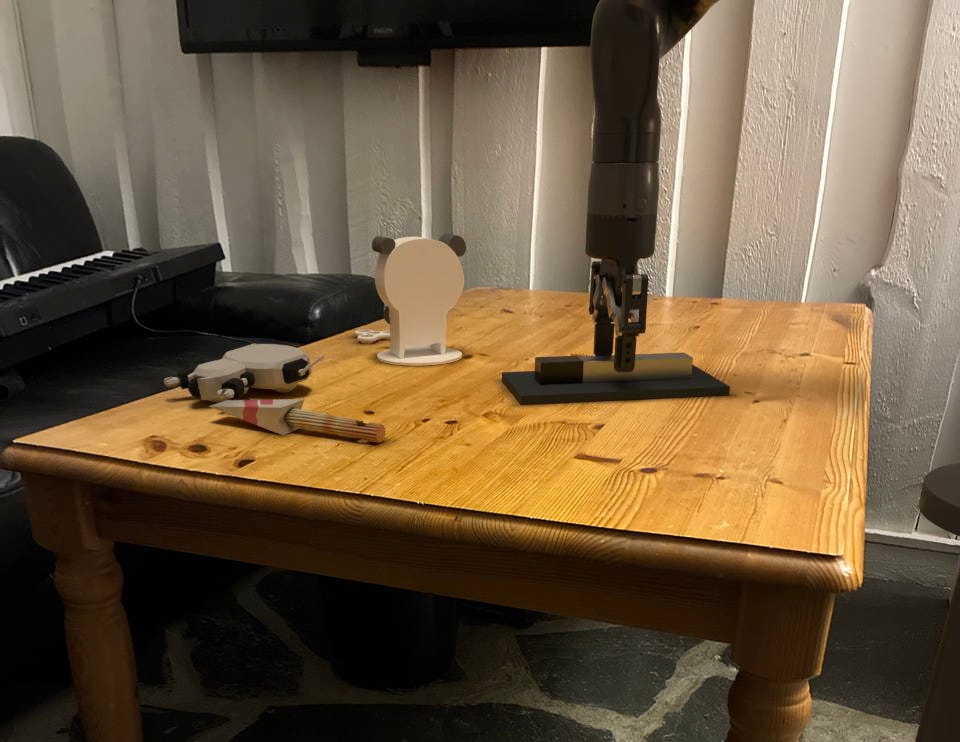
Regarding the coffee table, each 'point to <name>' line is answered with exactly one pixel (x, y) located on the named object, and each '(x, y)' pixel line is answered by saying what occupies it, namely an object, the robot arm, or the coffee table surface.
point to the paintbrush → (298, 418)
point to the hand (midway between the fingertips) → (613, 363)
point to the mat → (612, 388)
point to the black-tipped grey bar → (611, 368)
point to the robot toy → (246, 372)
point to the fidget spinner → (371, 335)
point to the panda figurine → (419, 296)
